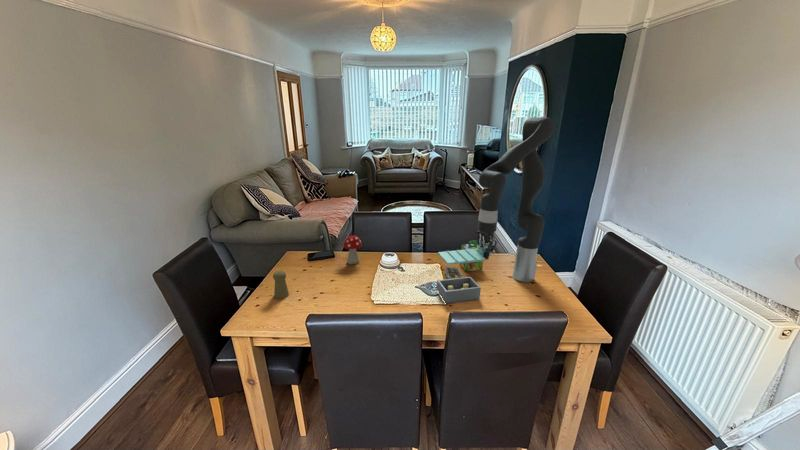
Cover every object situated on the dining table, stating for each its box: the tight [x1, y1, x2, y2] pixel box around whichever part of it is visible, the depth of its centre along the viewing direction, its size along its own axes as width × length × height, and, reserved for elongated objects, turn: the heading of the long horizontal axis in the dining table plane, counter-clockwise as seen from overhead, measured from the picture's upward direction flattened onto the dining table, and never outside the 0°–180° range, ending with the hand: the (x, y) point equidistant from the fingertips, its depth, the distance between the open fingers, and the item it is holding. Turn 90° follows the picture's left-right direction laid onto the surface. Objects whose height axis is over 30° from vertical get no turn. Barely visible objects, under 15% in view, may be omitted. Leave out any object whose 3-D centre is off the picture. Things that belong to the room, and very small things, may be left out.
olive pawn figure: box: [272, 270, 290, 300], centre depth 139 cm, size 6×6×11 cm
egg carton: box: [444, 266, 463, 279], centre depth 159 cm, size 11×8×4 cm
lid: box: [437, 246, 492, 265], centre depth 137 cm, size 21×11×3 cm, turn 105°
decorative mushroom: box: [342, 235, 363, 265], centre depth 170 cm, size 10×9×15 cm
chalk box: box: [459, 239, 484, 272], centre depth 167 cm, size 9×9×15 cm
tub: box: [436, 276, 482, 305], centre depth 142 cm, size 16×10×6 cm, turn 105°
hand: (483, 257), depth 140 cm, fingers closed on lid, 3 cm apart
